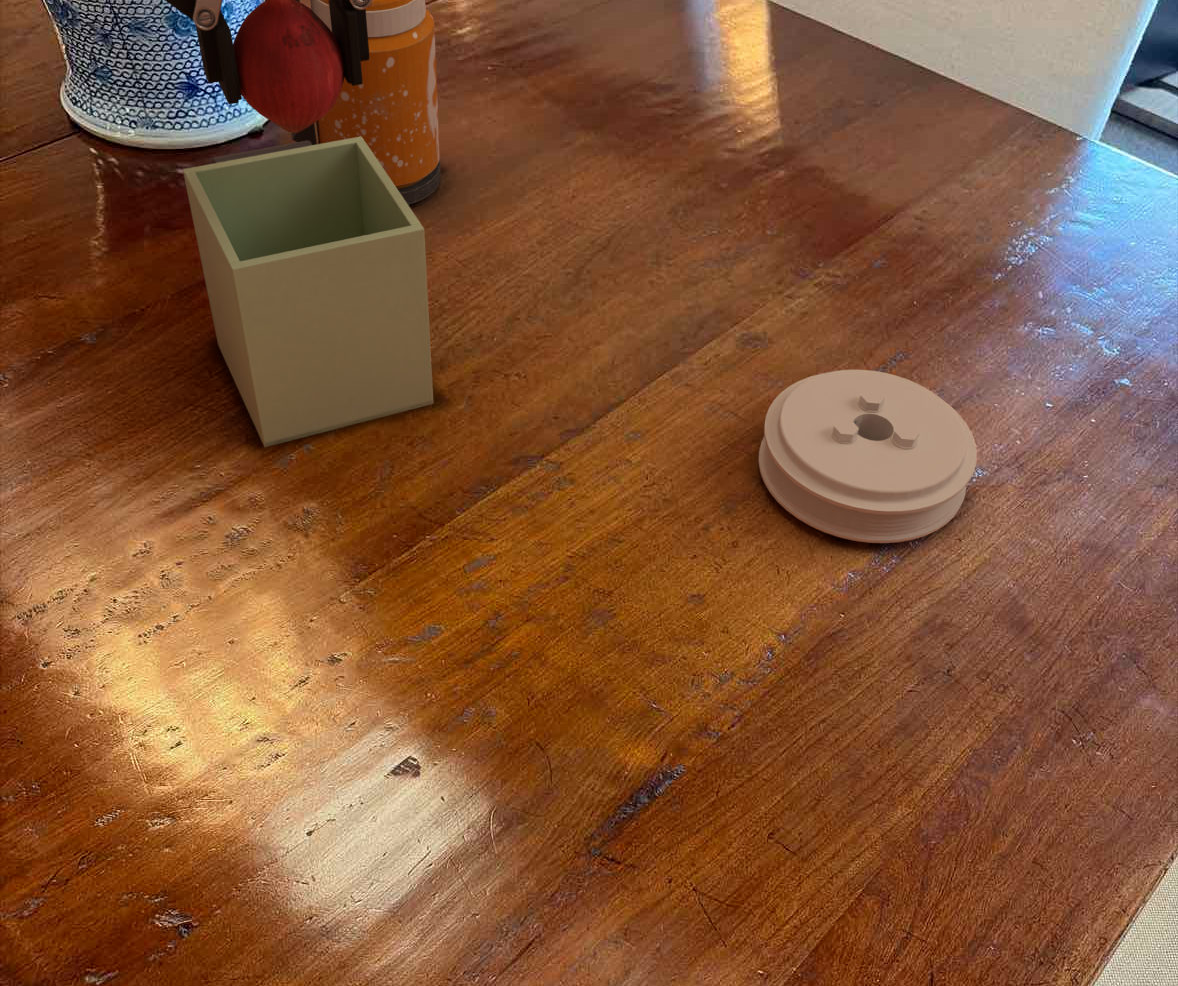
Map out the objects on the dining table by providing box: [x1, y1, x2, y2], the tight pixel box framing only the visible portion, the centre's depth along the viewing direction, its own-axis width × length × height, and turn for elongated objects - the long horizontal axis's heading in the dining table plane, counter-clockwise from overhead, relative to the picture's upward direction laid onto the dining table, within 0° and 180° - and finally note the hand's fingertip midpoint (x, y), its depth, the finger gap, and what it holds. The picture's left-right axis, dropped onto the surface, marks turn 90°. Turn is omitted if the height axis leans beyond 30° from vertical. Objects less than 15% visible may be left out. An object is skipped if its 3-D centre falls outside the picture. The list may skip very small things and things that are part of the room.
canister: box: [290, 0, 442, 206], centre depth 93 cm, size 9×11×20 cm
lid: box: [758, 369, 978, 544], centre depth 79 cm, size 13×13×5 cm
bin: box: [182, 137, 434, 448], centre depth 81 cm, size 13×11×15 cm
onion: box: [233, 0, 344, 134], centre depth 69 cm, size 6×6×8 cm
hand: (289, 79), depth 70 cm, fingers closed on onion, 5 cm apart
